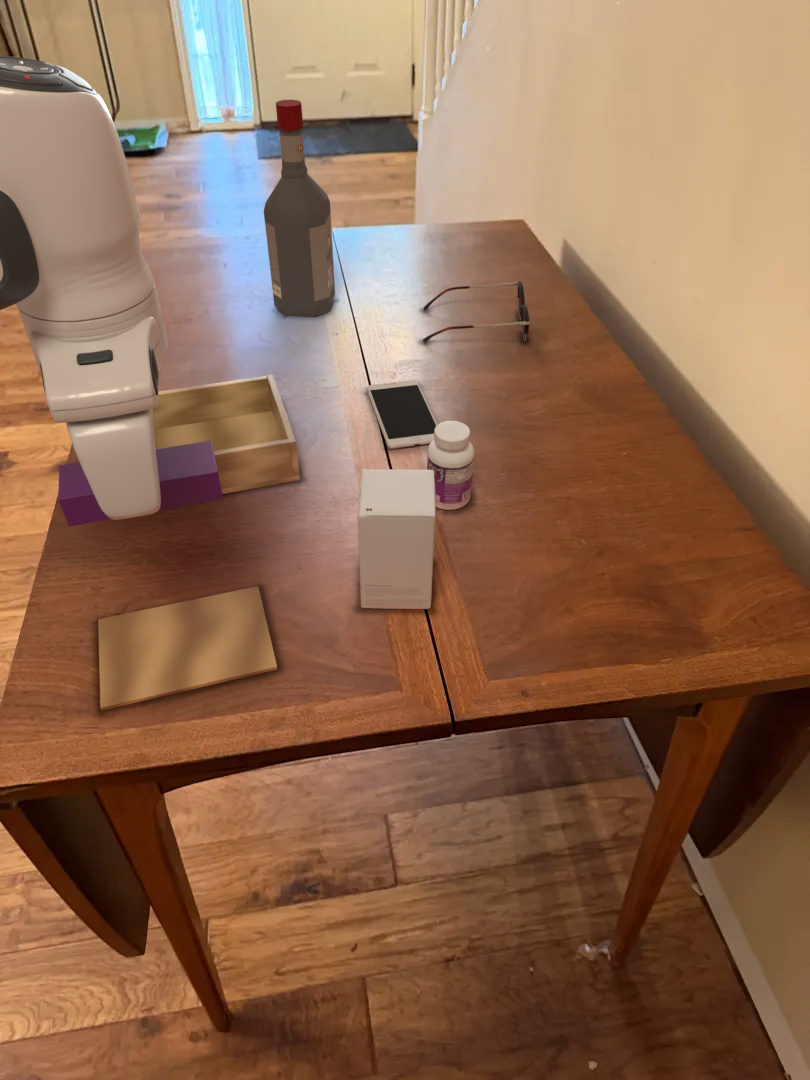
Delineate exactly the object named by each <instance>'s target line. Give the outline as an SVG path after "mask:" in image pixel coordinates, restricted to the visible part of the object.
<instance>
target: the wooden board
mask: <svg viewBox="0 0 810 1080" xmlns="http://www.w3.org/2000/svg"><path fill="white" fill-rule="evenodd" d="M263 604H264V603H263V600H262V596H261V592H260V587H259V585H258V586H251V587H247V588H242V589H237V590H233V591H232V590H231V591H227V592H222V593H218V594H213V595H208V596H203V597H198V598H194V599H189V600H183V601H179V602H174V603H170V604H164V605H160V606H156V607H150V608H146V609H141V610H137V611H132V612H126V613H121V614H117V615H113V616H112V615H111V616H108V617H102V618H98V619H97V628H98V631H97V632H98V667H99V668H98V669H99V673H98V674H99V707H100V710H101V711H106V710H111V709H114V708H115V709H116V708H119V707H124V706H128V705H133V704H137V703H140V702H145V701H149V700H153V699H158V698H162V697H167V696H172V695H175V694H179V693H183V692H188V691H192V690H196V689H200V688H204V687H205V688H206V687H209V686H214V685H218V684H221V683H226V682H230V681H231V682H232V681H235V680H239V679H243V678H248V677H252V676H256V675H261V674H265V673H270V672H273V671H277V670H278V669H279V668H278V664H277V659H276V656H275V651H274V646H273V643H272V642H273V641H272V638H271V635H270V630H269V629H270V628H269V625H268V621H267V617H266V613H265V609H264V605H263Z"/></svg>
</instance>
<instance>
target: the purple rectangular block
mask: <svg viewBox="0 0 810 1080" xmlns="http://www.w3.org/2000/svg"><path fill="white" fill-rule="evenodd" d="M156 457H157V466H158V475H159V483H160V495H161V505H160V509H159V510H158V511H157V512H159V511H163V510H168V509H174V508H180V507H185V506H192V505H197V504H202V503H207V502H213V501H219V500H223V499H224V494H222V489H221V484H220V479H219V474H218V469H217V465H216V460H215V455H214V451H213V446H212V442H211V440H210V441H204V442H198V443H192V444H186V445H180V446H174V447H168V448H162V449H156ZM57 497H58V503H59V506H60V508H61V510H62V513H63V516H64V518H65V521H66V524H67V526H68V527H69V528H71V527H76V526H81V525H86V524H93V523H98V522H103V521H108V520H109V521H110V520H112V519H111V518H109V517H108V516H107V515H106V514H105V513H104V512H103V511H102V509H101V508H100V506H99V504H98V502H97V500H96V498H95V495H94V493H93V491H92V489H91V487H90V484H89V482H88V480H87V478H86V475H85V473H84V471H83V469H82V466H81V464H80V462H79V461H78V462H72V463H71V462H70V463H65V464H59V466H58V496H57Z"/></svg>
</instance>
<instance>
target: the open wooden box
mask: <svg viewBox="0 0 810 1080" xmlns="http://www.w3.org/2000/svg"><path fill="white" fill-rule="evenodd" d="M157 398H158V405H157V407H156V408H153V428H154V440H155V449H162V448H168V447H174V446H180V445H186V444H192V443H198V442H204V441H210V440H211V442H212V446H213V451H214V455H215V460H216V465H217V469H218V474H219V479H220V484H221V489H222V495H225V494H226V495H227V494H230V493H236V492H242V491H248V490H253V489H259V488H265V487H270V486H275V485H281V484H286V483H291V482H297V481H300V480H301V476H300V473H301V472H300V466H299V465H300V464H299V455H298V446H297V440H296V437H295V434H294V431H293V429H292V426H291V423H290V420H289V417H288V415H287V411H286V409H285V406H284V403H283V400H282V397H281V394H280V392H279V388H278V385H277V383H276V380H275V377H274V374H267V375H261V376H253V377H247V378H246V377H245V378H240V379H233V380H227V381H219V382H213V383H206V384H200V385H193V386H186V387H179V388H173V389H172V388H171V389H166V390H158V395H157Z"/></svg>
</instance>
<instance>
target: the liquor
mask: <svg viewBox="0 0 810 1080" xmlns="http://www.w3.org/2000/svg"><path fill="white" fill-rule="evenodd" d="M275 110H276V111H275V112H276V122H277V129H278V130H279V144H280V153H281V170H280V175H281V177H280V178H279V181H278V182H277V183H276V185H275V187H274V189H273V190H272V192H271V193H270V194H269V196H268V198H267V199H266V201H265V203H264V208H263V219H264V226H265V227H264V228H265V235H266V244H267V254H268V261H269V271H270V278H271V279H270V280H271V288H272V298H273V305H274V307H275V308H276V310H277V311H279V312H280V313H282V314H283V315H284V316H288V317H290V316H291V317H303V318H305V317H306V318H316V317H319V316H323V315H325V314H328V313H329V310H330V308H331V305H332V304H333V300H334V298H335V295H336V286H335V285H336V284H335V283H336V282H335V267H334V249H333V248H334V247H333V233H332V216H331V215H332V213H331V201H330V198H329V196H328V193H327V192H326V191H325V190H324V189H323V188H322V187H321V186H320V185H319V184H318V183H317V181H316V180H315V179H314V178H313V177H311V176H310V174H308V167H307V165H306V159H305V147H304V135H303V128H304V121H303V119H304V118H303V107H302V101H300V100H298V99H282V100H278V101H276V102H275Z"/></svg>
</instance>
